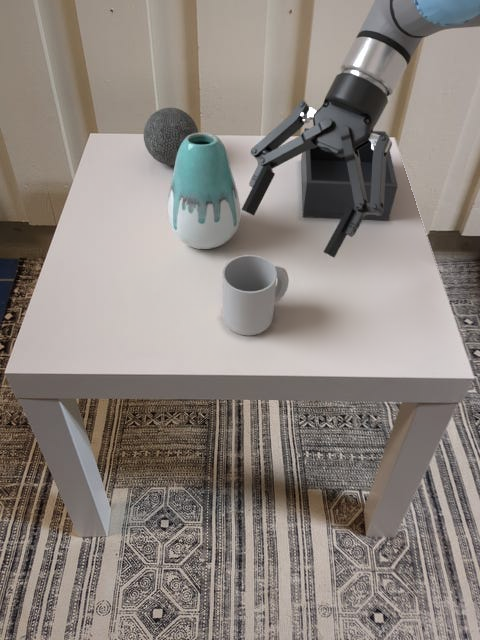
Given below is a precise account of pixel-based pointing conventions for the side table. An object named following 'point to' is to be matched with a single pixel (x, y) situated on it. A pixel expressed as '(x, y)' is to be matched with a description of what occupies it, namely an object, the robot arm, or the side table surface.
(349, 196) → the open box
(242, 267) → the cup
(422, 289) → the side table surface
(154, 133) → the decorative ball
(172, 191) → the vase
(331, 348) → the side table surface
